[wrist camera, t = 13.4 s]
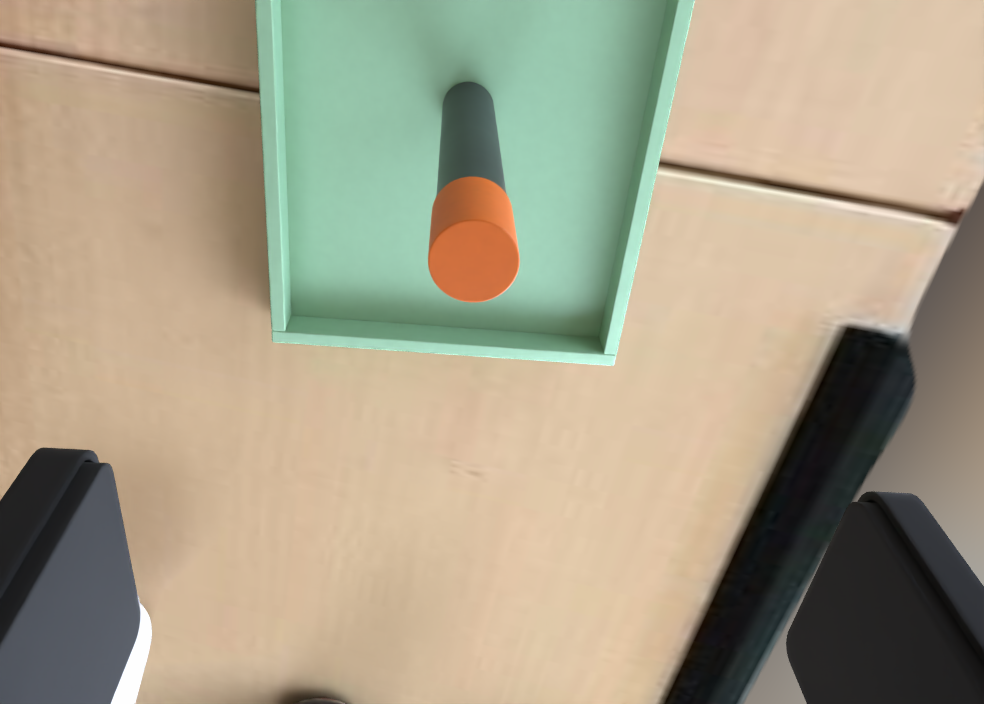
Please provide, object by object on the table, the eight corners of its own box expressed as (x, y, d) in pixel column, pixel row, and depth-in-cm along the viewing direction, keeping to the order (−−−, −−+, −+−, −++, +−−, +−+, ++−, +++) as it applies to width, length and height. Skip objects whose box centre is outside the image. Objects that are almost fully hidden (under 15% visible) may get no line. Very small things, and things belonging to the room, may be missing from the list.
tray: (256, -262, 25) (240, -272, 23) (721, -200, 26) (740, -205, 24) (281, 319, 36) (272, 342, 34) (606, 342, 37) (614, 366, 35)
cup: (83, 511, 42) (11, 638, 35) (218, 574, 45) (175, 702, 38) (4, 620, 46) (-75, 752, 39) (132, 672, 49) (79, 803, 42)
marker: (441, 75, 30) (430, 216, 18) (499, 81, 30) (525, 223, 18) (438, 133, 31) (425, 299, 19) (493, 138, 31) (514, 306, 19)
